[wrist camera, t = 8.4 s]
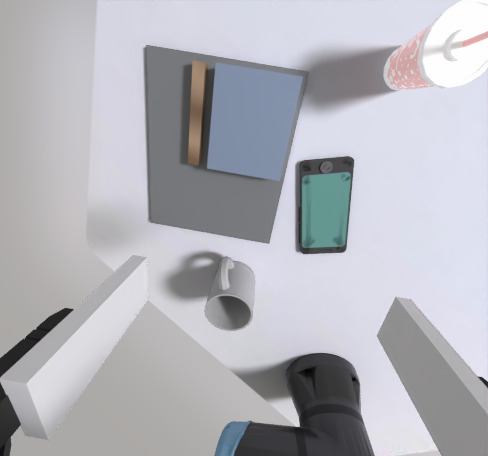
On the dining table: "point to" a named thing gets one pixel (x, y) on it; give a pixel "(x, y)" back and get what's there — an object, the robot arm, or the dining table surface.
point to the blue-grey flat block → (251, 120)
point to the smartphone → (325, 204)
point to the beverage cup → (443, 50)
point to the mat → (198, 176)
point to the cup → (231, 296)
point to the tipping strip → (197, 111)
